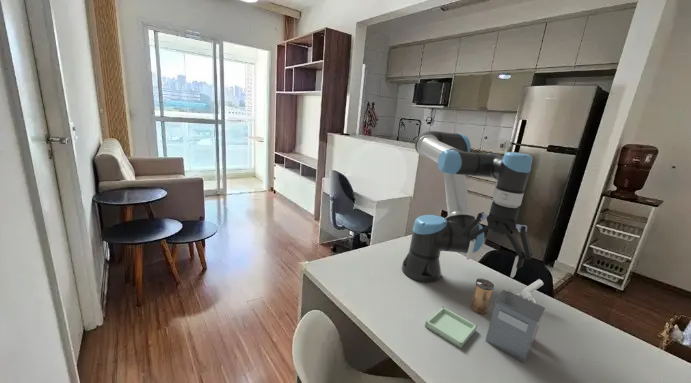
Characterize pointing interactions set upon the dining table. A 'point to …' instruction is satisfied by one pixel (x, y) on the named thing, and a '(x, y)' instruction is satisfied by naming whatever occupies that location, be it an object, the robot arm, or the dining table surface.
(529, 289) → the hook
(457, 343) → the tray
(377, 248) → the dining table surface
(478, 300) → the amber cylinder
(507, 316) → the box
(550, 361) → the dining table surface
